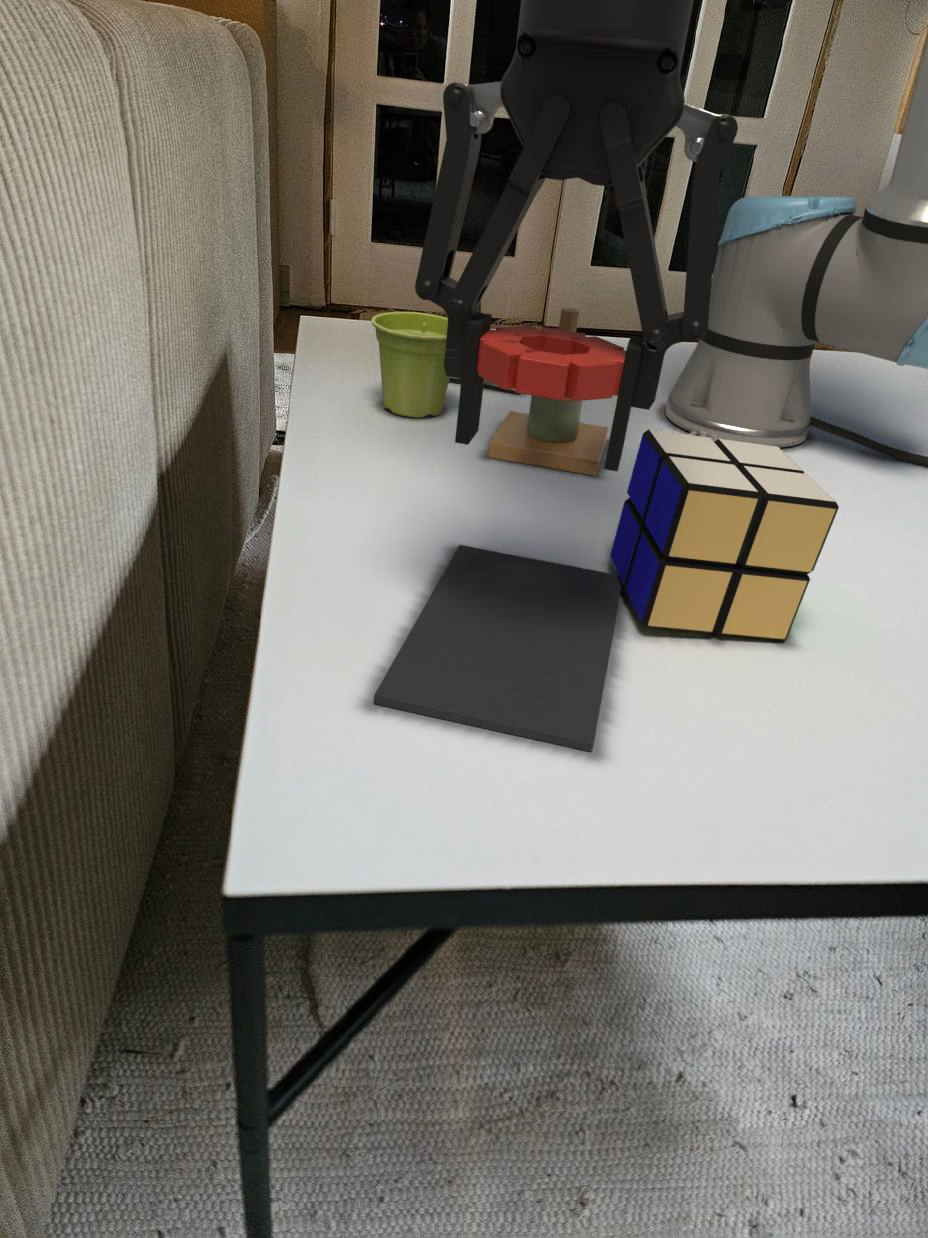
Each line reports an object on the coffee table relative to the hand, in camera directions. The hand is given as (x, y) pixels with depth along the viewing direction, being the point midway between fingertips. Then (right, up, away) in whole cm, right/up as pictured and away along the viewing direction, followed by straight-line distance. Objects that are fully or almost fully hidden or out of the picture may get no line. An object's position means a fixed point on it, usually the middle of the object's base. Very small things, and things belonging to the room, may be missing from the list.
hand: (539, 448), depth 51 cm
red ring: (0, +3, -2) cm, 4 cm away
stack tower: (+4, +7, +37) cm, 37 cm away
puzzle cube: (+12, -8, +12) cm, 19 cm away
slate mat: (-1, -11, +6) cm, 12 cm away
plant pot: (-9, +12, +43) cm, 46 cm away
